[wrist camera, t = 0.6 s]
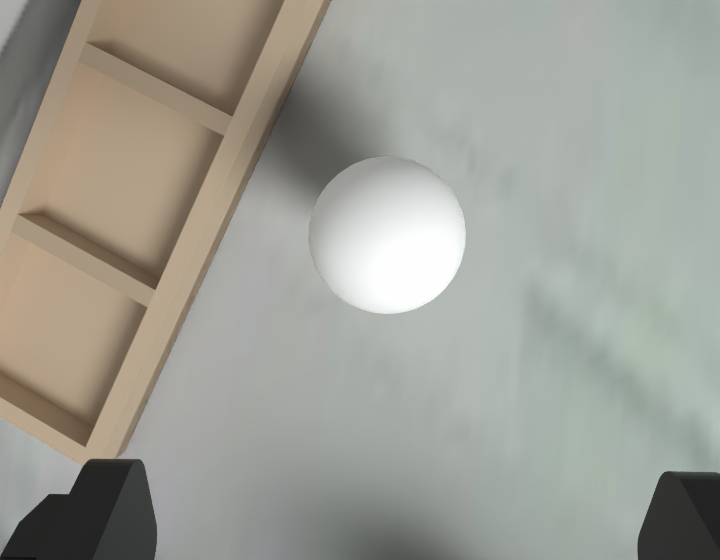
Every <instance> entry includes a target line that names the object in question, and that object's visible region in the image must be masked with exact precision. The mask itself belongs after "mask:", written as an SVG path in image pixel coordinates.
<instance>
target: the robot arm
mask: <svg viewBox="0 0 720 560" xmlns="http://www.w3.org/2000/svg"><path fill="white" fill-rule="evenodd" d="M156 544H157V525H156V520H155V515H154V510H153V505H152V500H151V495H150V490H149V485H148V481H147V476H146V471H145V467H144V464H143V462H142V461H141V460H140V459H90V460H88V461H87V462H86V463H85V464H84V466H83V468H82V469H81V471H80V473H79V475H78V477H77V479H76V481H75V483H74V485H73V487H72V489H71V491H70V493H69V494H49V495H48V496H47V497H46V498H45V499H44V500H43V501H42V502H40V503H39V504H38V505H37V506H36V507H35V508H34V509H33V510H32V511H31V512H30V513H29V514H28V515H27V516H26V517H25V518H24V519H23V520H21V521H20V522H19V524H18V526H17V527H16V529H15V531H14V533H13V535H12V536H11V538H10V540H9V542H8V543H7V545H6V547H5V549H4V551H3V552H2V554H1V556H0V560H154V558H155V552H156ZM638 560H720V474H719V473H716V472H673V471H667V472H664V473H663V474H662V475H661V477H660V479H659V481H658V484H657V486H656V489H655V492H654V495H653V498H652V500H651V503H650V506H649V509H648V511H647V514H646V517H645V520H644V522H643V525H642V528H641V531H640V534H639V537H638Z"/></svg>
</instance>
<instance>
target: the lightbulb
mask: <svg viewBox="0 0 720 560" xmlns="http://www.w3.org/2000/svg"><path fill="white" fill-rule="evenodd" d="M465 238H466V230H465V222H464V216H463V213H462V210H461V207H460V204H459V202H458V200H457V198H456V197H455V195H454V193H453V191H452V190H451V188H450V187H449V186H448V185H447V184H446V183H445V181H444V180H443V179H442V178H441V177H440V176H439V175H437V174H436V173H435V172H433V171H432V170H431V169H429V168H428V167H426V166H424V165H422V164H420V163H418V162H415V161H413V160H409V159H405V158H401V157H390V156H381V157H375V158H369V159H365V160H363V161H360V162H357V163H355V164H352V165H351V166H349V167H348V168H346V169H344V170H343V171H341V172H340V173H339V174H338V175H337V176H336V177H335V178H333V179H332V180H331V181H330V182H329V183H328V184H327V186H326V187H325V189H324V190H323V191H322V193H321V194H320V196H319V197H318V200H317V202H316V204H315V206H314V208H313V211H312V215H311V219H310V224H309V245H310V252H311V256H312V259H313V262H314V265H315V268H316V270H317V271H318V273H319V275H320V276H321V278H322V280H323V281H324V283H325V284H326V285H327V286H328V287H329V288H330V289H331V291H332V292H333V293H335V294H336V295H337V296H338V297H340V298H341V299H342V300H344V301H345V302H347V303H349V304H351V305H353V306H355V307H357V308H359V309H362V310H366V311H369V312H373V313H383V314H393V313H402V312H406V311H409V310H413V309H416V308H419V307H421V306H422V305H424V304H426V303H428V302H429V301H431V300H433V299H434V298H435V297H436V296H437V295H439V294H440V293H441V292H442V291H443V290H444V289H445V288H446V287H447V285H448V284H449V283H450V281H451V280H452V279H453V278H454V276H455V274H456V272H457V270H458V268H459V266H460V264H461V260H462V256H463V253H464V249H465Z"/></svg>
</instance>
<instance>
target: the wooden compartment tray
mask: <svg viewBox="0 0 720 560" xmlns="http://www.w3.org/2000/svg"><path fill="white" fill-rule="evenodd" d="M330 2H331V0H82V1H81V3H80V6H79V8H78V11H77V14H76V16H75V19H74V21H73V24H72V26H71V29H70V31H69V34H68V37H67V39H66V42H65V44H64V47H63V49H62V52H61V55H60V57H59V60H58V62H57V65H56V67H55V70H54V73H53V75H52V78H51V80H50V83H49V85H48V88H47V90H46V93H45V96H44V98H43V101H42V103H41V106H40V108H39V111H38V114H37V116H36V119H35V121H34V124H33V126H32V129H31V131H30V134H29V137H28V139H27V142H26V144H25V147H24V149H23V152H22V155H21V157H20V160H19V162H18V165H17V167H16V170H15V173H14V175H13V178H12V180H11V183H10V185H9V188H8V190H7V193H6V196H5V198H4V201H3V203H2V206H1V208H0V417H1V418H3V419H5V420H7V421H8V422H10V423H12V424H13V425H15V426H17V427H18V428H20V429H22V430H23V431H25V432H27V433H28V434H30V435H32V436H33V437H35V438H37V439H38V440H40V441H42V442H43V443H45V444H47V445H48V446H50V447H52V448H54V449H55V450H57V451H59V452H60V453H62V454H64V455H65V456H67V457H69V458H70V459H72V460H74V461H75V462H77V463H79V464H80V465H82V466H84V464H85V463H86V462H87V461H88V460H90V459H115V458H116V457H118V456H119V455H121V454H122V453H124V452H125V449H126V447H127V445H128V443H129V441H130V439H131V436H132V434H133V432H134V430H135V428H136V425H137V423H138V421H139V419H140V417H141V414H142V412H143V410H144V408H145V406H146V404H147V401H148V399H149V397H150V395H151V393H152V390H153V388H154V386H155V384H156V382H157V380H158V377H159V375H160V373H161V371H162V369H163V366H164V364H165V362H166V360H167V358H168V356H169V353H170V351H171V349H172V347H173V345H174V342H175V340H176V338H177V336H178V334H179V332H180V329H181V327H182V325H183V323H184V321H185V318H186V316H187V314H188V312H189V310H190V308H191V305H192V303H193V301H194V299H195V297H196V294H197V292H198V290H199V288H200V286H201V284H202V281H203V279H204V277H205V275H206V273H207V270H208V268H209V266H210V264H211V262H212V260H213V257H214V255H215V253H216V251H217V249H218V246H219V244H220V242H221V240H222V238H223V236H224V233H225V231H226V229H227V227H228V225H229V222H230V220H231V218H232V216H233V214H234V212H235V209H236V207H237V205H238V203H239V201H240V198H241V196H242V194H243V192H244V190H245V188H246V185H247V183H248V181H249V179H250V177H251V174H252V172H253V170H254V168H255V166H256V164H257V161H258V159H259V157H260V155H261V153H262V150H263V148H264V146H265V144H266V142H267V140H268V137H269V135H270V133H271V131H272V129H273V126H274V124H275V122H276V120H277V118H278V116H279V113H280V111H281V109H282V107H283V105H284V102H285V100H286V98H287V96H288V94H289V92H290V89H291V87H292V85H293V83H294V81H295V78H296V76H297V74H298V72H299V70H300V68H301V65H302V63H303V61H304V59H305V57H306V54H307V52H308V50H309V48H310V46H311V44H312V41H313V39H314V37H315V35H316V33H317V30H318V28H319V26H320V24H321V22H322V20H323V17H324V15H325V13H326V11H327V9H328V6H329V4H330Z"/></svg>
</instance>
